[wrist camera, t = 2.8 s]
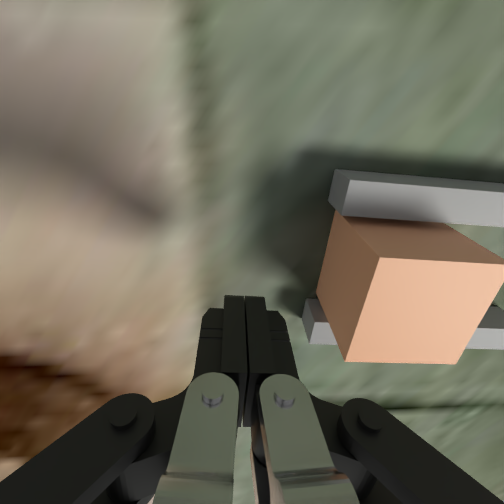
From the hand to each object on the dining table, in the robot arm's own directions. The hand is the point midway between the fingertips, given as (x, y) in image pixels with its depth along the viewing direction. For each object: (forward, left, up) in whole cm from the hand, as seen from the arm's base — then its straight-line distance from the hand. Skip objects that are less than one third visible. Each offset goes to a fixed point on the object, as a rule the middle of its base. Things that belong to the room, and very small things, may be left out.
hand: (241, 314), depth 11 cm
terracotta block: (0, +7, -5) cm, 8 cm away
